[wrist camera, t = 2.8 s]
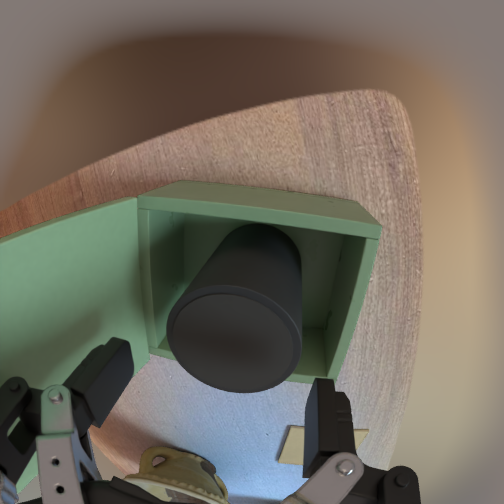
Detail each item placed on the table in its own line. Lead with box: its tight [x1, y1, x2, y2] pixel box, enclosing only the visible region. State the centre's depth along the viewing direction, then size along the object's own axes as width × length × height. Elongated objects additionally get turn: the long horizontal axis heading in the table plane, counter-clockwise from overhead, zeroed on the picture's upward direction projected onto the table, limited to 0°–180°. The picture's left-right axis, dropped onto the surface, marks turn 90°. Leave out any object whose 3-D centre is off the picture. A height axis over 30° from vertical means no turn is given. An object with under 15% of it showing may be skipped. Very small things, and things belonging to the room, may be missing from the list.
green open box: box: [137, 180, 382, 385], centre depth 20 cm, size 14×12×7 cm
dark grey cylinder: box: [166, 223, 302, 393], centre depth 18 cm, size 7×7×10 cm
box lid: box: [0, 196, 150, 493], centre depth 11 cm, size 14×12×1 cm
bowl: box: [122, 446, 230, 504], centre depth 33 cm, size 18×18×10 cm
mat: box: [278, 426, 369, 465], centre depth 31 cm, size 10×10×1 cm
